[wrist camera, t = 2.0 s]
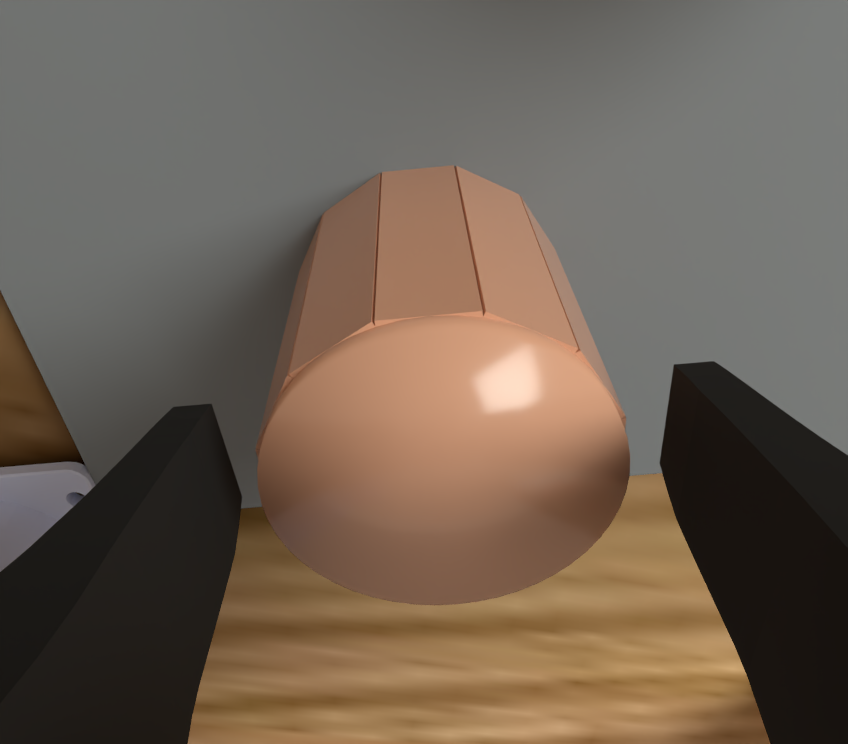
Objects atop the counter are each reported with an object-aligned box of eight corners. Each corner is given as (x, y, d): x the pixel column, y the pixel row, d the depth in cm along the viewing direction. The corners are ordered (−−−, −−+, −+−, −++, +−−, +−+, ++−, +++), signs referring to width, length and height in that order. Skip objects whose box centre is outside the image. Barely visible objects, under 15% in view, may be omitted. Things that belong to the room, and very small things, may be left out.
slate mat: (859, 445, 19) (874, 463, 18) (116, 508, 19) (108, 527, 19) (1541, -1470, 6) (1662, -1611, 6) (-674, -1153, 7) (-776, -1250, 6)
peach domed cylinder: (552, 381, 17) (616, 591, 12) (325, 401, 17) (296, 617, 12) (557, 155, 14) (647, 312, 9) (279, 181, 14) (214, 352, 9)
